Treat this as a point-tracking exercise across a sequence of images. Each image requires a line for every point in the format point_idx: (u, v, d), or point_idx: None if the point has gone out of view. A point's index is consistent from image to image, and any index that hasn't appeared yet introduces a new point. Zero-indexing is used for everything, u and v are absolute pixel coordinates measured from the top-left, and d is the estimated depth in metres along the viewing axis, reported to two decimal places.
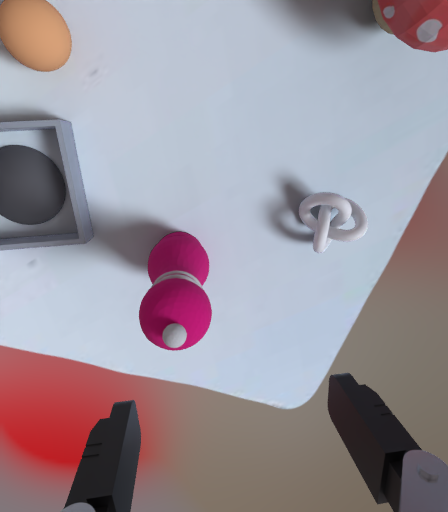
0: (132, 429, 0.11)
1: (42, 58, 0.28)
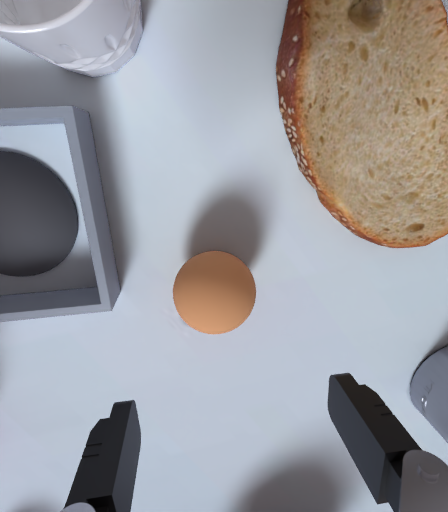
0: (132, 429, 0.11)
1: (182, 315, 0.21)
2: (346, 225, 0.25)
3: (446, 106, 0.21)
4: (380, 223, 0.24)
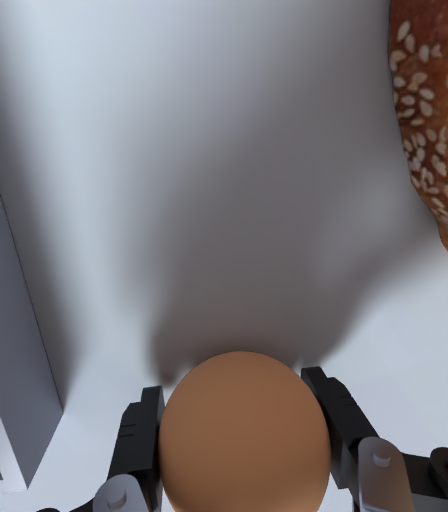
0: (161, 412, 0.12)
1: None
2: None
3: None
4: None
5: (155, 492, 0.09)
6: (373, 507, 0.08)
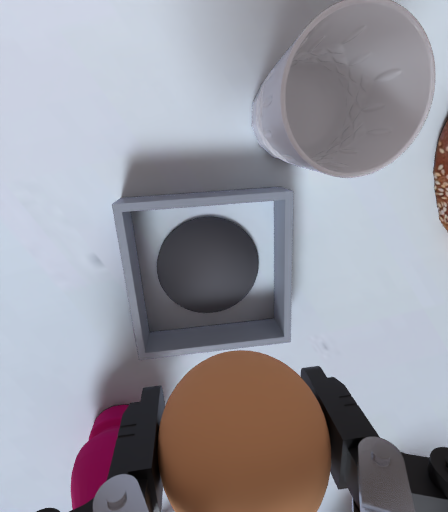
0: (161, 412, 0.12)
1: None
2: None
3: None
4: None
5: (155, 492, 0.09)
6: (373, 507, 0.08)
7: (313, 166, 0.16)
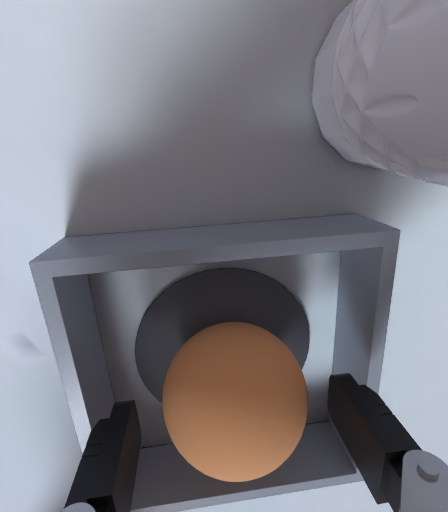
0: (132, 429, 0.11)
1: (178, 450, 0.12)
2: None
3: None
4: None
5: None
6: None
7: None
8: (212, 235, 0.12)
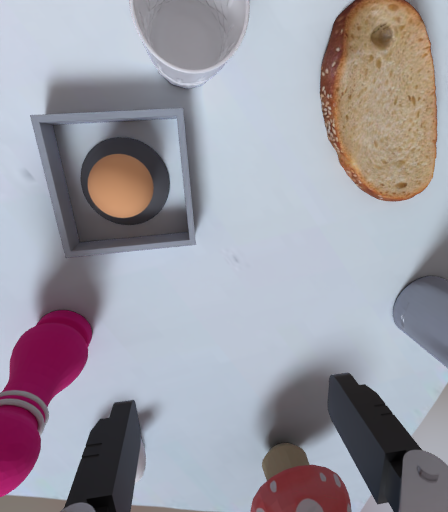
0: (132, 429, 0.11)
1: (93, 198, 0.28)
2: (355, 180, 0.36)
3: (426, 103, 0.32)
4: (379, 179, 0.35)
5: None
6: None
7: (163, 62, 0.21)
8: None
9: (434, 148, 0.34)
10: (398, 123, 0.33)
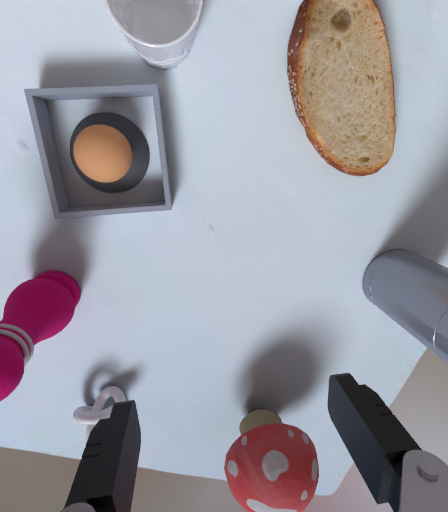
0: (132, 429, 0.11)
1: (77, 162, 0.32)
2: (322, 154, 0.39)
3: (384, 81, 0.35)
4: (342, 153, 0.38)
5: None
6: None
7: (131, 37, 0.25)
8: None
9: (393, 124, 0.37)
10: (359, 100, 0.37)
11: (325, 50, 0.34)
